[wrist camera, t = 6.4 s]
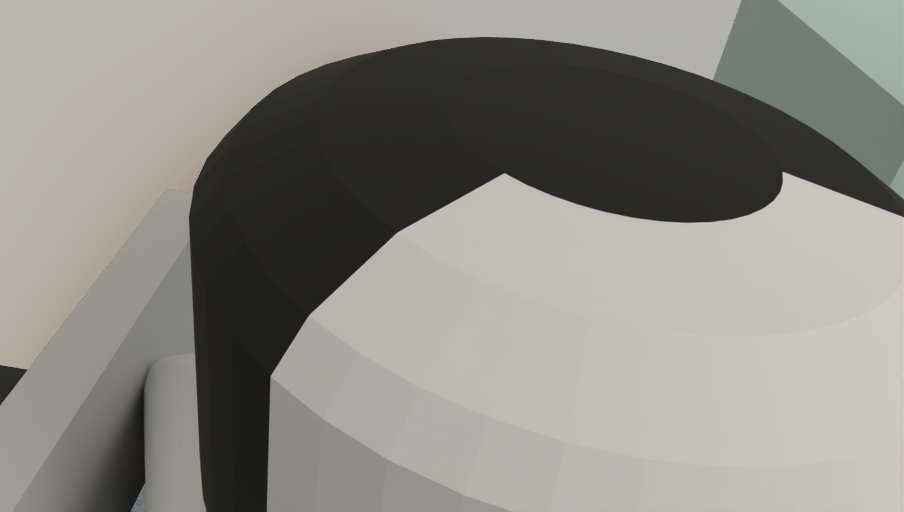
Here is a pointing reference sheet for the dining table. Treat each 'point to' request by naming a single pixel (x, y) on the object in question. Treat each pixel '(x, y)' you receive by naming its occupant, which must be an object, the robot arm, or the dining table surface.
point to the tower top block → (827, 72)
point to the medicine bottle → (532, 298)
